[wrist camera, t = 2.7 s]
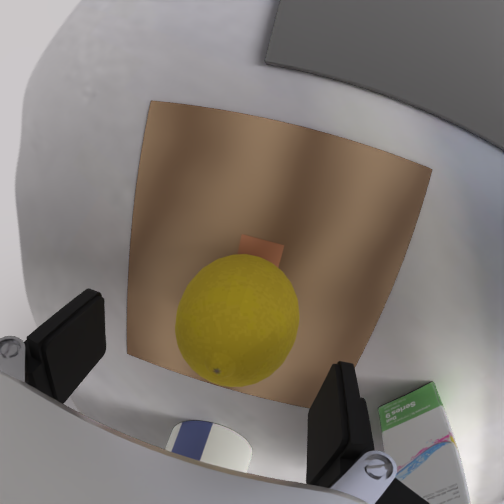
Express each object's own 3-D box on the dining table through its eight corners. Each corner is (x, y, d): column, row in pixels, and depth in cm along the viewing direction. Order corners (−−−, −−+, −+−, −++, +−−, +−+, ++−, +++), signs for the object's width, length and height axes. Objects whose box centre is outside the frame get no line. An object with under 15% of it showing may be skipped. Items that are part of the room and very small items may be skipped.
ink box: (450, 431, 20) (479, 534, 9) (400, 453, 22) (414, 560, 11) (433, 378, 19) (479, 511, 8) (371, 407, 20) (387, 546, 9)
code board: (430, 168, 14) (432, 169, 14) (329, 410, 21) (329, 412, 21) (152, 100, 16) (150, 100, 15) (128, 352, 22) (127, 353, 22)
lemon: (279, 220, 17) (258, 283, 9) (313, 307, 18) (314, 408, 10) (191, 254, 18) (121, 325, 11) (230, 332, 19) (191, 426, 12)
